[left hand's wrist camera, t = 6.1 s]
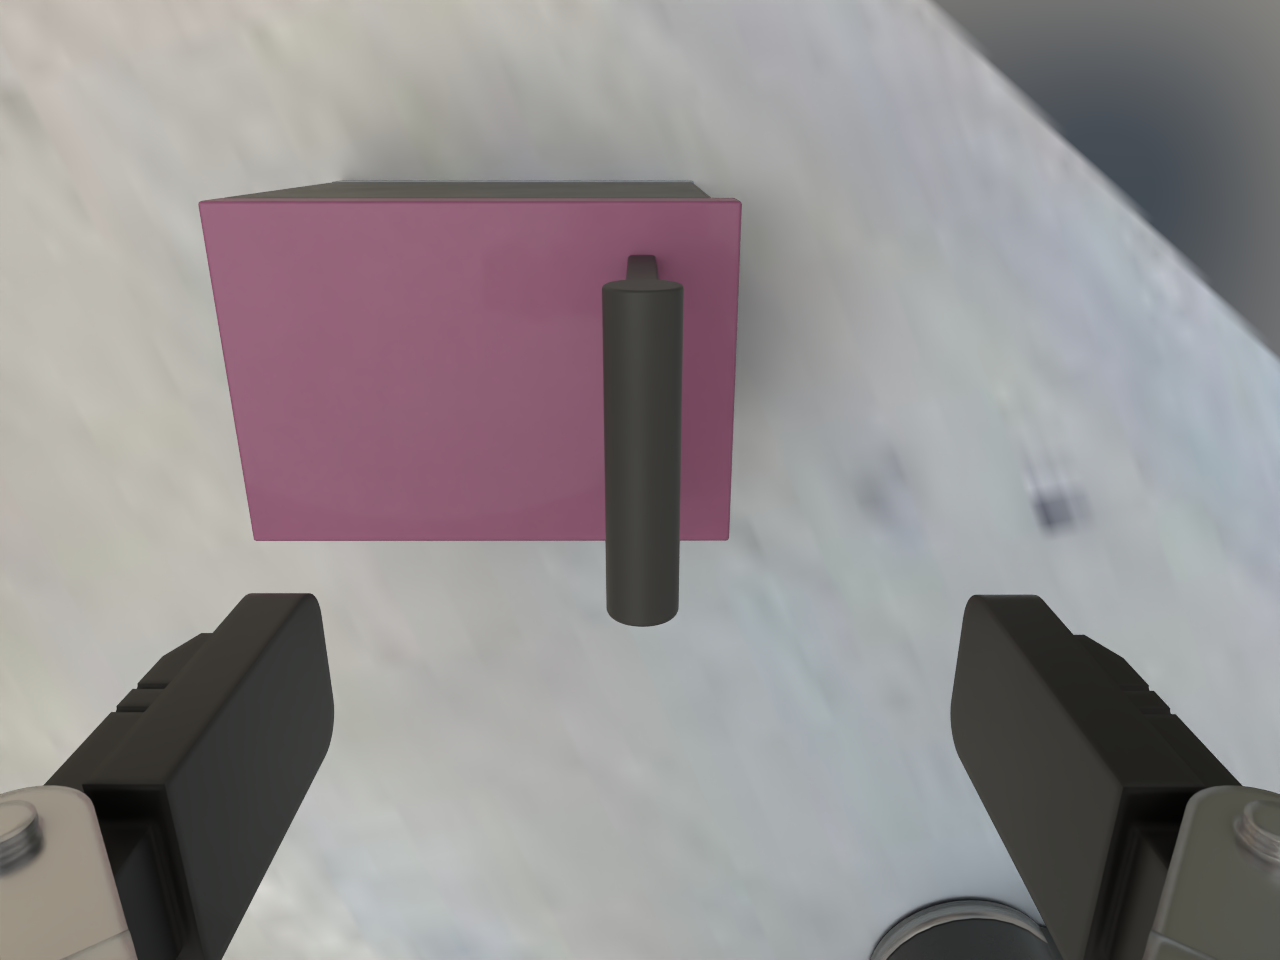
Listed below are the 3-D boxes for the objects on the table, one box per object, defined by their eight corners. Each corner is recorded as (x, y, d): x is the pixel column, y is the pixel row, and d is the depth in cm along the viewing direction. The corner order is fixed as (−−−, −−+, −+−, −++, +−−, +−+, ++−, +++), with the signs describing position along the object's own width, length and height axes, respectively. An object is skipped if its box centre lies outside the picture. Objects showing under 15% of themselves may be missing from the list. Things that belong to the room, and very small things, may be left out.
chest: (691, 180, 33) (713, 197, 23) (687, 422, 36) (704, 522, 27) (340, 180, 33) (219, 197, 23) (367, 422, 36) (271, 523, 27)
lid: (736, 198, 23) (783, 225, 16) (724, 523, 27) (758, 674, 19) (219, 198, 23) (19, 226, 16) (270, 523, 27) (125, 675, 19)
